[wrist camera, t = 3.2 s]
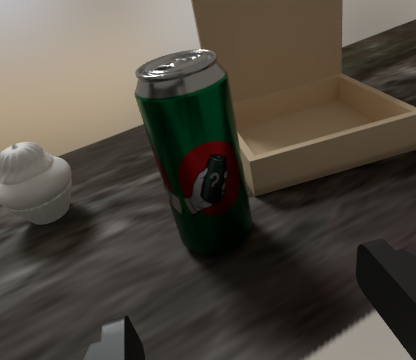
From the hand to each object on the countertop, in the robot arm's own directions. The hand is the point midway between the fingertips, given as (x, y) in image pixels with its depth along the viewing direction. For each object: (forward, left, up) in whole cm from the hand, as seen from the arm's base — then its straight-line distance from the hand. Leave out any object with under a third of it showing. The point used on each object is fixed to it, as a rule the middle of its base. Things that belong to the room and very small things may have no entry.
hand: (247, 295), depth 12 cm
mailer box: (+11, +20, -7) cm, 23 cm away
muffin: (-13, +20, -7) cm, 24 cm away
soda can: (0, +11, -7) cm, 13 cm away
